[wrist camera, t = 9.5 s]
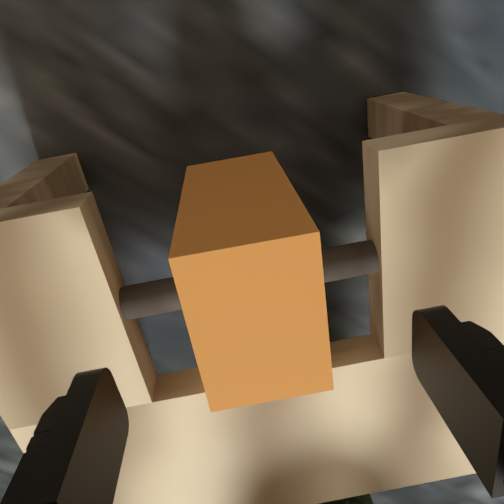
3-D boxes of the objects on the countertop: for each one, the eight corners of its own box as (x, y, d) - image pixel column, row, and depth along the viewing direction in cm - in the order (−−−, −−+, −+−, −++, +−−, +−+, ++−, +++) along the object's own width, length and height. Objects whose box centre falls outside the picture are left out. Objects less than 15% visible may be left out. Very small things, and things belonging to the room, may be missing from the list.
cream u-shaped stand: (407, 86, 22) (559, 117, 12) (407, 329, 29) (503, 467, 20) (33, 156, 22) (-106, 241, 12) (124, 383, 29) (81, 549, 19)
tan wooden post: (272, 151, 19) (319, 231, 11) (286, 257, 22) (333, 389, 13) (186, 166, 19) (168, 258, 11) (210, 270, 22) (210, 412, 13)
